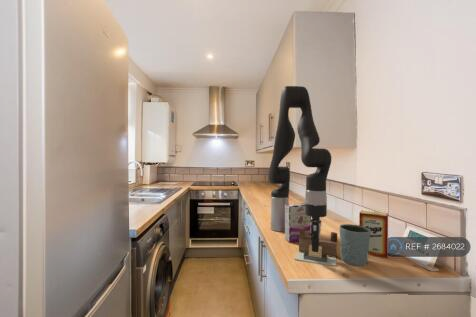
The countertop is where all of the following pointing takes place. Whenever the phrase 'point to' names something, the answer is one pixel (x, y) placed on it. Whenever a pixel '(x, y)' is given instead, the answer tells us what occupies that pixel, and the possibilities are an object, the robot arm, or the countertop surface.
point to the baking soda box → (376, 231)
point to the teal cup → (354, 244)
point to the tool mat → (330, 260)
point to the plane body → (327, 243)
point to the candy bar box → (296, 221)
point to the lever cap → (315, 254)
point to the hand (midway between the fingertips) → (315, 248)
